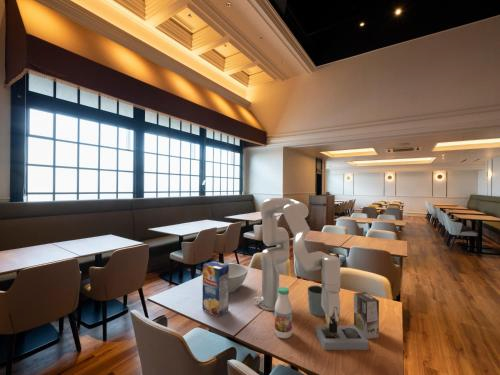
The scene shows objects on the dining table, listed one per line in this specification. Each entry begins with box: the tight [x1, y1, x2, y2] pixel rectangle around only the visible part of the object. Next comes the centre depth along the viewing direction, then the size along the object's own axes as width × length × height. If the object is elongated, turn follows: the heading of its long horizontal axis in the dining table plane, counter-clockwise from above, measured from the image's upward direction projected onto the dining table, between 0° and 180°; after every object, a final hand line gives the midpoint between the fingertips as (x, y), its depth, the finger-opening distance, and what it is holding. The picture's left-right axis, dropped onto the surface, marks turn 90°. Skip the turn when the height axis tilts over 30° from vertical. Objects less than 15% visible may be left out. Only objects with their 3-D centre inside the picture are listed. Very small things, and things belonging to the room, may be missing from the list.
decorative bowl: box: [225, 262, 249, 294], centre depth 149 cm, size 27×27×12 cm
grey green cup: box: [307, 284, 325, 317], centre depth 121 cm, size 10×10×12 cm
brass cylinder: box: [324, 313, 336, 337], centre depth 98 cm, size 4×4×9 cm
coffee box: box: [353, 291, 380, 340], centre depth 105 cm, size 9×6×16 cm
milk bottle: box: [274, 286, 293, 339], centre depth 103 cm, size 8×8×20 cm
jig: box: [315, 325, 370, 351], centre depth 99 cm, size 18×11×4 cm, turn 91°
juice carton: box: [201, 260, 229, 317], centre depth 123 cm, size 12×8×24 cm, turn 55°
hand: (330, 328), depth 98 cm, fingers closed on brass cylinder, 4 cm apart
